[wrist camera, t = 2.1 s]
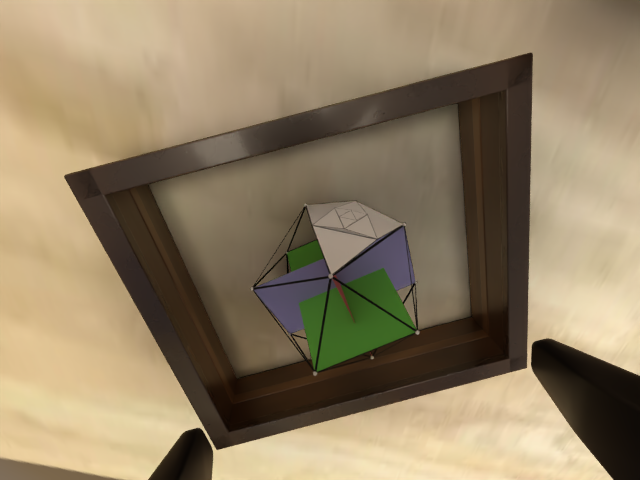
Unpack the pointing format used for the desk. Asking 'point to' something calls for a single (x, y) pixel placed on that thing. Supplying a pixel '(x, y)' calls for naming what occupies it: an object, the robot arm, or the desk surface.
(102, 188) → the square wooden frame
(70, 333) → the desk surface
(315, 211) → the geometric puzzle
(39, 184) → the desk surface
